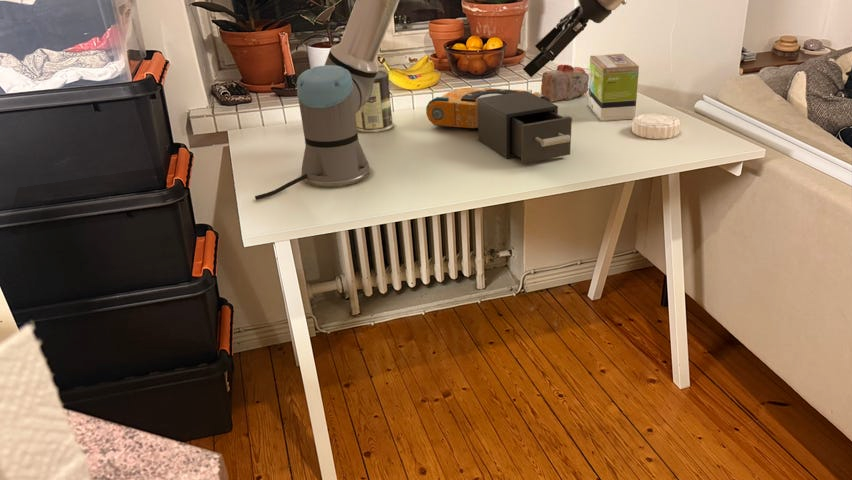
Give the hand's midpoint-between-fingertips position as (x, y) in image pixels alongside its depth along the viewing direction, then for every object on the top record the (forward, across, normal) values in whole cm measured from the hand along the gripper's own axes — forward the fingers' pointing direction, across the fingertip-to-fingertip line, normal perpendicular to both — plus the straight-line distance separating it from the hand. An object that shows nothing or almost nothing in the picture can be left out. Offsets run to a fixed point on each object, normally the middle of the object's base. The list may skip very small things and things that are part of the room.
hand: (533, 60), depth 164 cm
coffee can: (+48, +3, +15) cm, 51 cm away
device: (+28, +15, -7) cm, 32 cm away
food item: (+20, +41, -21) cm, 50 cm away
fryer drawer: (+11, -10, -15) cm, 21 cm away
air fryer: (+17, -3, -12) cm, 21 cm away
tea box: (+7, +28, -30) cm, 42 cm away
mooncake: (-4, +14, -37) cm, 40 cm away
